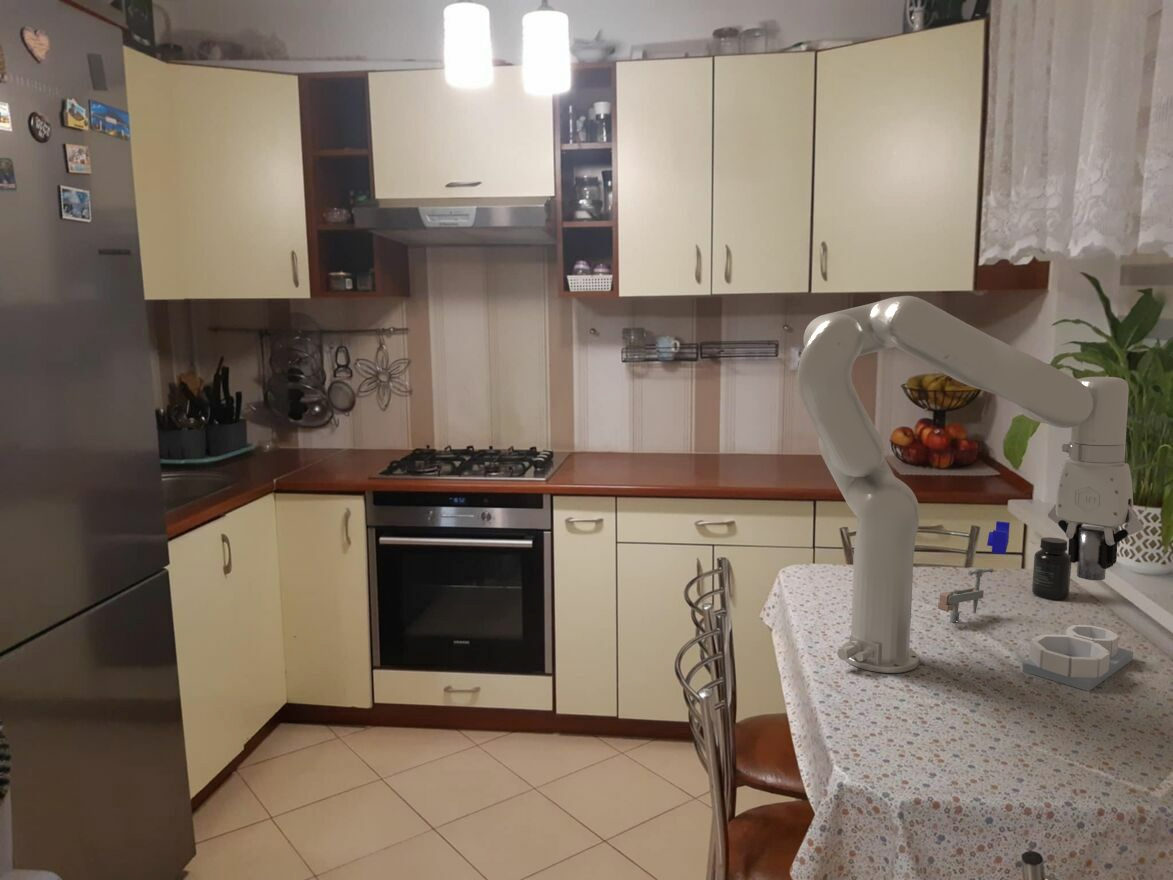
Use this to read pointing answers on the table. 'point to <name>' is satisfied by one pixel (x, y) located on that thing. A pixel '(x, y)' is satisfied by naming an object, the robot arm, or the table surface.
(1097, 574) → the grey cylinder
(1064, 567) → the supplement bottle
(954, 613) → the clamp
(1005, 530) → the blue block
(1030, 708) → the table surface
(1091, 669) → the fitting plate
